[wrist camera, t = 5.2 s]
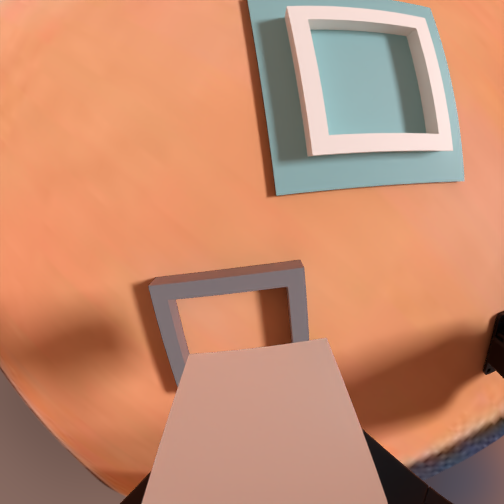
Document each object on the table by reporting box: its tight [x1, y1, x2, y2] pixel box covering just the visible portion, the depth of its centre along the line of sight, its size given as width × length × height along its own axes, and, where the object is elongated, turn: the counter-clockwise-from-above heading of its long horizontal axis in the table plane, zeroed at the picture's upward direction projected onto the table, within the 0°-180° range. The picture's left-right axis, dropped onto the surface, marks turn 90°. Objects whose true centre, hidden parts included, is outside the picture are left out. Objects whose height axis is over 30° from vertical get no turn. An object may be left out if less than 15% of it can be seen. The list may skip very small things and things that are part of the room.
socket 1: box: [148, 260, 309, 387], centre depth 19 cm, size 9×9×2 cm
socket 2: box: [247, 0, 464, 196], centre depth 15 cm, size 13×13×2 cm
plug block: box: [142, 338, 388, 504], centre depth 7 cm, size 4×5×7 cm
